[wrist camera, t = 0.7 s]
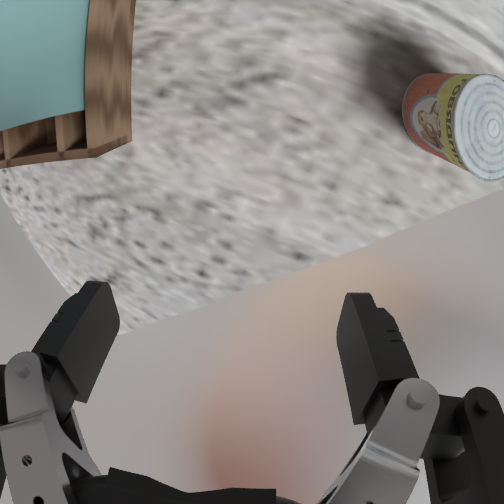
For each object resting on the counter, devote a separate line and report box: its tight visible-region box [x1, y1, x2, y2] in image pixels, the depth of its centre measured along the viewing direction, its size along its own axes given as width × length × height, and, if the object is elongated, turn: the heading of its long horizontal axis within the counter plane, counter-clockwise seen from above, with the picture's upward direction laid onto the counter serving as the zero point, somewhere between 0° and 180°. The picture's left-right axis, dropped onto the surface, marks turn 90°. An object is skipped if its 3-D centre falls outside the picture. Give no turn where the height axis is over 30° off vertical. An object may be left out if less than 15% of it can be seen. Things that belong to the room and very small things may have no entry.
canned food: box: [402, 73, 504, 181], centre depth 26 cm, size 11×11×12 cm
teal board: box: [0, 0, 90, 131], centre depth 19 cm, size 14×2×20 cm, turn 177°
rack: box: [0, 0, 136, 169], centre depth 25 cm, size 24×18×10 cm
